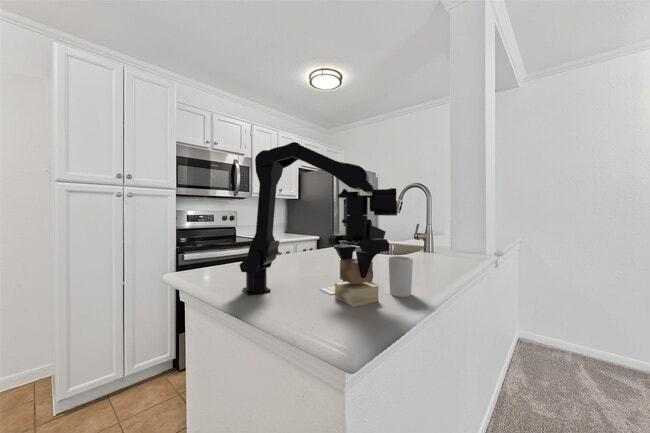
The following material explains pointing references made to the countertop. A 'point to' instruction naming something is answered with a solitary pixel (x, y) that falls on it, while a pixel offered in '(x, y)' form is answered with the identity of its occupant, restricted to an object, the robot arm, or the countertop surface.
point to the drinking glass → (400, 275)
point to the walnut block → (354, 272)
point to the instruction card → (329, 290)
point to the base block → (356, 293)
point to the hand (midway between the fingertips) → (356, 275)
